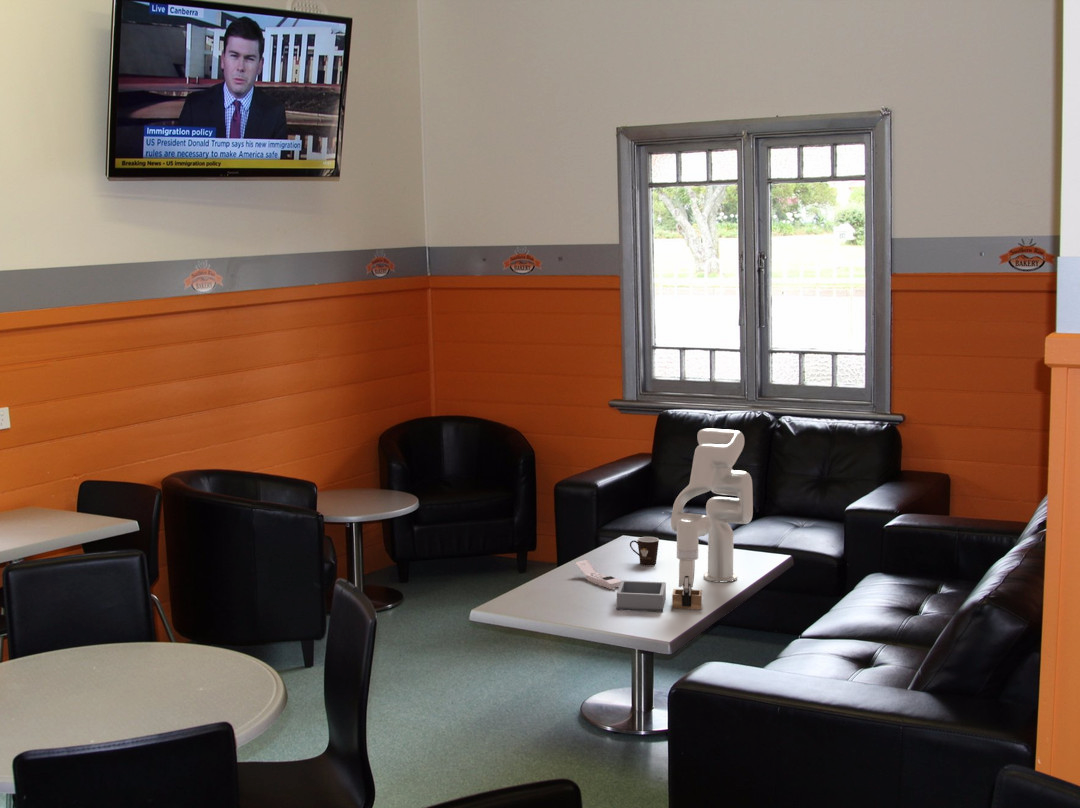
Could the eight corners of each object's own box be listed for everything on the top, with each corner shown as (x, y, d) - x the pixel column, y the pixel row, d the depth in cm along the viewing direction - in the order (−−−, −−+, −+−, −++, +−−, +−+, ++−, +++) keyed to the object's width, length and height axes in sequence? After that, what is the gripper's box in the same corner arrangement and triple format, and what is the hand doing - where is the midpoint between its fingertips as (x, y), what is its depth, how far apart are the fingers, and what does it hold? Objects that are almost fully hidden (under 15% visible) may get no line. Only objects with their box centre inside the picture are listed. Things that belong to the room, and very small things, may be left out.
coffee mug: (663, 564, 458) (663, 540, 457) (646, 567, 453) (646, 543, 452) (644, 558, 468) (644, 534, 466) (628, 561, 463) (628, 537, 462)
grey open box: (621, 596, 415) (621, 580, 415) (665, 598, 413) (665, 582, 412) (616, 609, 400) (616, 593, 399) (662, 612, 397) (662, 595, 396)
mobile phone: (586, 559, 445) (625, 573, 424) (587, 574, 446) (625, 589, 425) (573, 561, 442) (612, 576, 421) (574, 576, 443) (612, 592, 422)
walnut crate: (673, 602, 408) (673, 588, 407) (701, 603, 406) (701, 590, 405) (672, 608, 401) (672, 594, 400) (701, 609, 399) (701, 595, 399)
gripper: (678, 547, 410) (677, 595, 412) (675, 559, 393) (675, 609, 395) (699, 547, 409) (698, 596, 411) (697, 560, 392) (696, 610, 394)
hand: (687, 602), depth 403 cm, fingers closed on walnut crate, 7 cm apart
